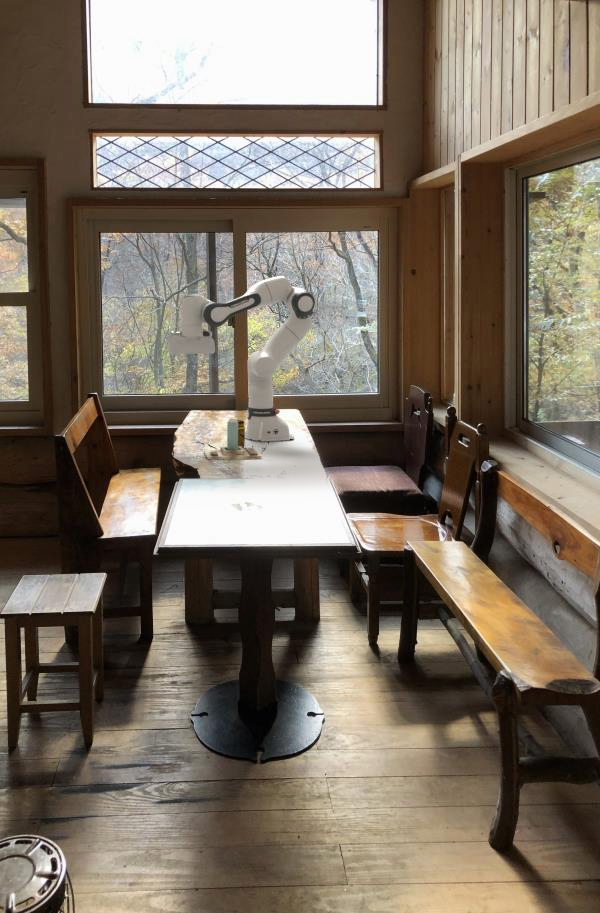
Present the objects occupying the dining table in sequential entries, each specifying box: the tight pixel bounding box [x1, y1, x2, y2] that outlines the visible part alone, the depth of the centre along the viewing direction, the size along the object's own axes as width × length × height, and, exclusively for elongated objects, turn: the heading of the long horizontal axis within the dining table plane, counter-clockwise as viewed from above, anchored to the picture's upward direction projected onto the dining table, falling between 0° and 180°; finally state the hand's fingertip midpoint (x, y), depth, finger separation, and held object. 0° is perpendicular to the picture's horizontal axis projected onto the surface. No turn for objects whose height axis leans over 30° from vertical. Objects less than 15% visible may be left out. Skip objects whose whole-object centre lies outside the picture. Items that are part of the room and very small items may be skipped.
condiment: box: [237, 419, 246, 450], centre depth 392 cm, size 7×8×12 cm
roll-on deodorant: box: [226, 417, 238, 450], centre depth 375 cm, size 4×4×15 cm
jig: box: [203, 446, 263, 460], centre depth 376 cm, size 22×13×3 cm, turn 104°
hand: (191, 364), depth 398 cm, fingers open, 8 cm apart
